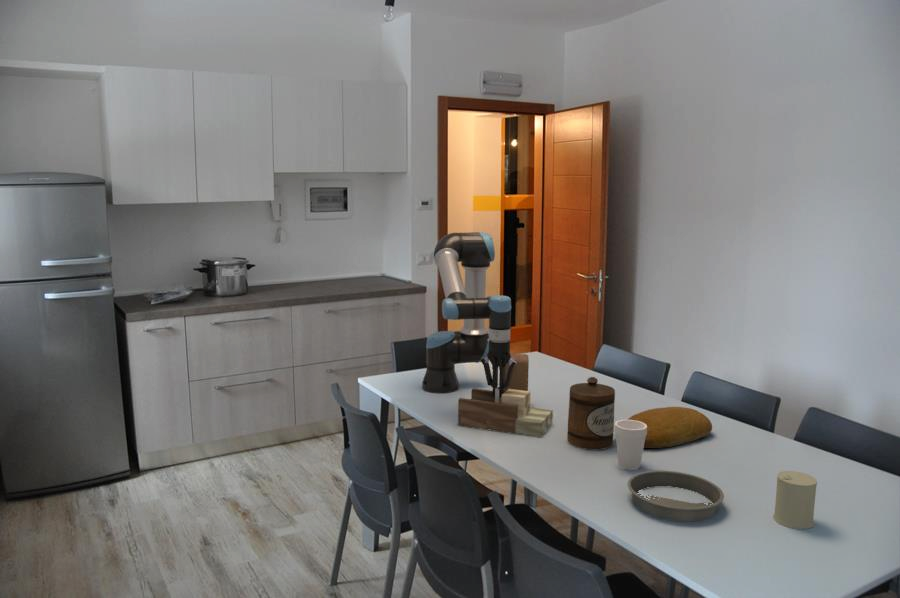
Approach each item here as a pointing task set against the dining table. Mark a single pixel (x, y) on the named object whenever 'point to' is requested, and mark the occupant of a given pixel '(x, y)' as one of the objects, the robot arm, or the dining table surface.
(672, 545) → the dining table surface
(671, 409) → the bread
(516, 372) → the wooden block
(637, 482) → the cake pan
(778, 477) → the can
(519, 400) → the birch block
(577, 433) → the wooden container
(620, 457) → the foam cup
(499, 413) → the chute
